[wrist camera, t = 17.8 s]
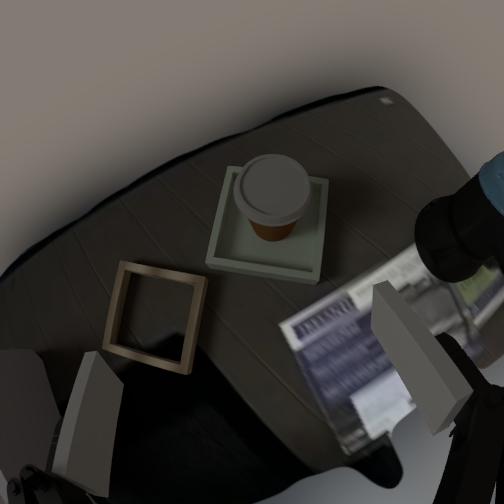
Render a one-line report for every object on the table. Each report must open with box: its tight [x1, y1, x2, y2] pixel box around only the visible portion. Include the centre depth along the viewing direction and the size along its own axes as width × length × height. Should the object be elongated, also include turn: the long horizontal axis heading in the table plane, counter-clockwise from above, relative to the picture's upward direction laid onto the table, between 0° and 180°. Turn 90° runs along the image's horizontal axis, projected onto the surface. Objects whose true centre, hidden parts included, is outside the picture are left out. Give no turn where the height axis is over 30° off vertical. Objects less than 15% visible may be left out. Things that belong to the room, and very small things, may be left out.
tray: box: [205, 166, 329, 285], centre depth 44 cm, size 16×16×4 cm
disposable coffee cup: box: [233, 154, 313, 242], centre depth 39 cm, size 10×10×12 cm
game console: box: [0, 348, 61, 504], centre depth 28 cm, size 6×27×20 cm, turn 21°
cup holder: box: [102, 261, 209, 375], centre depth 41 cm, size 14×14×2 cm
